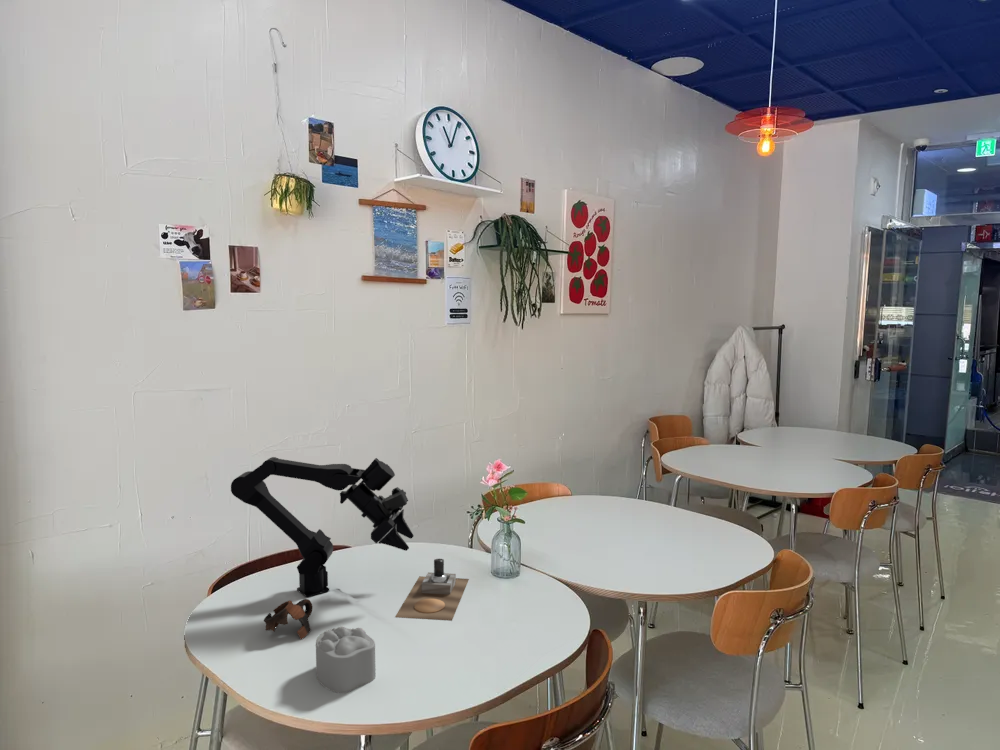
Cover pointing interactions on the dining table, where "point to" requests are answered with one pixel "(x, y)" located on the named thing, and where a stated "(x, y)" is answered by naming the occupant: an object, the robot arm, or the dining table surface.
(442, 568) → the nail polish bottle
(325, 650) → the grey paw block
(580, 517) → the dining table surface
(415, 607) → the brown wooden board
